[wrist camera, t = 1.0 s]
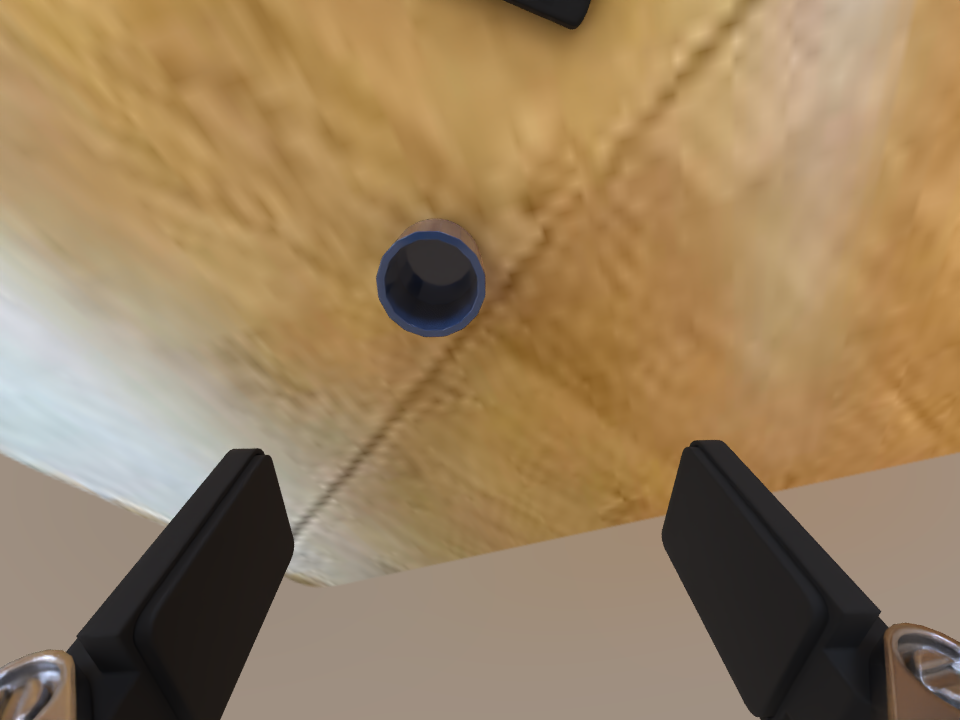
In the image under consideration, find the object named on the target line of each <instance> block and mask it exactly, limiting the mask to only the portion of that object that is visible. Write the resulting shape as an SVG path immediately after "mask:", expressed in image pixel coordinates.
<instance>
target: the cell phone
mask: <svg viewBox="0 0 960 720" xmlns="http://www.w3.org/2000/svg"><path fill="white" fill-rule="evenodd" d="M504 1H506V2H508V3H511V4H513V5H515V6H518V7H520V8H522V9H525V10H527V11H529V12H532V13H534V14H536V15H539V16H541V17H543V18H546V19H548V20H550V21H553V22H555V23H557V24H559V25H562V26H564V27H566V28H568V29H576V28H577V27H578V26H579V25H580V24H581V22H582V21H583V19H584V17H585V15H586V13H587V10H588V7H589V4H590V1H591V0H504Z"/></svg>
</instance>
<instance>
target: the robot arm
mask: <svg viewBox="0 0 960 720" xmlns="http://www.w3.org/2000/svg"><path fill="white" fill-rule="evenodd" d="M662 541H663V545H664V548H665V550H666V552H667V554H668V556H669V558H670V560H671V562H672V563H673V565H674V567H675V569H676V571H677V573H678V575H679V577H680V579H681V581H682V582H683V585H684V587H685V589H686V591H687V593H688V594H689V596H690V598H691V600H692V602H693V604H694V606H695V608H696V610H697V612H698V613H699V616H700V617H701V620H702V621H703V624H704V625H705V627H706V629H707V631H708V633H709V635H710V637H711V639H712V641H713V643H714V645H715V647H716V649H717V651H718V652H719V655H720V656H721V658H722V660H723V662H724V664H725V666H726V668H727V670H728V672H729V674H730V676H731V678H732V680H733V681H734V684H735V685H736V687H737V689H738V691H739V693H740V695H741V697H742V699H743V701H744V703H745V704H746V706H747V708H748V710H749V711H750V712H751V713H752V714H753V715H754V716H756V717H760V719H761V720H960V642H958V641H956V640H954V639H953V638H951V637H949V636H947V635H945V634H943V633H941V632H938V631H935V630H933V629H930V628H927V627H925V626H922V625H916V624H910V623H901V624H893V625H892V626H891V627H888V626H887V625H886V624H885V623H884V622H883V621H882V620H881V619H880V618H879V617H878V616H879V614H880V613H881V611H880V610H879V609H878V608H877V606H875V604H874V603H873V602H872V601H871V600H870V599H869V598H868V597H867V596H866V595H865V594H864V592H862V590H861V589H860V588H859V587H858V586H857V585H856V584H855V583H854V582H853V581H852V579H851V578H849V576H848V575H847V574H846V573H845V572H844V571H843V570H842V569H841V568H840V567H839V565H838V564H837V563H836V562H835V561H834V560H833V559H832V558H831V557H830V556H829V555H828V554H827V552H826V551H825V550H824V549H823V548H822V547H821V546H820V545H819V544H818V543H817V542H816V541H815V540H814V538H813V537H812V536H811V535H810V534H809V533H808V532H807V531H806V530H805V529H804V528H803V527H802V526H801V525H800V523H799V522H798V521H797V520H796V519H795V518H794V517H793V516H792V515H791V514H790V513H789V511H788V510H787V509H786V508H785V507H784V506H783V505H782V504H781V503H780V502H779V501H778V500H777V499H776V497H775V496H774V495H773V494H772V493H771V492H770V491H769V490H768V489H767V488H766V487H765V486H764V485H763V483H762V482H761V481H760V480H759V479H758V478H757V477H756V476H755V475H754V474H753V473H752V472H751V470H750V469H749V468H748V467H747V466H746V465H745V464H744V463H743V462H742V461H741V460H740V459H739V458H738V456H737V455H736V454H735V453H734V452H733V451H732V450H731V449H730V448H729V447H728V446H727V445H726V444H725V443H724V442H723V441H720V440H696V441H693V442H692V443H691V444H690V446H689V447H686V448H685V449H684V450H683V452H682V456H681V460H680V464H679V468H678V471H677V475H676V479H675V483H674V487H673V491H672V494H671V498H670V502H669V506H668V510H667V514H666V517H665V521H664V525H663V529H662ZM293 551H294V539H293V535H292V531H291V528H290V524H289V520H288V517H287V513H286V509H285V505H284V502H283V498H282V494H281V491H280V487H279V483H278V479H277V476H276V472H275V468H274V464H273V461H272V458H271V457H270V455H265V454H264V452H263V451H262V450H261V449H258V448H257V449H232V450H230V451H229V452H228V453H227V454H226V455H225V456H224V458H223V459H222V460H221V461H220V462H219V464H218V465H217V466H216V467H215V468H214V470H213V471H212V472H211V473H210V475H209V476H208V477H207V478H206V479H205V481H204V482H203V483H202V484H201V485H200V487H199V488H198V489H197V490H196V492H195V493H194V494H193V495H192V496H191V498H190V499H189V500H188V501H187V502H186V504H185V505H184V506H183V507H182V509H181V510H180V511H179V512H178V513H177V515H176V516H175V517H174V518H173V519H172V521H171V522H170V523H169V524H168V525H167V527H166V528H165V529H164V530H163V532H162V533H161V534H160V535H159V536H158V538H157V539H156V540H155V541H154V542H153V544H152V545H151V546H150V547H149V549H148V550H147V551H146V552H145V554H144V555H143V556H142V557H141V558H140V560H139V561H138V562H137V563H136V564H135V566H134V567H133V568H132V569H131V570H130V572H129V573H128V574H127V575H126V576H125V578H124V579H123V580H122V581H121V582H120V584H119V585H118V586H117V587H116V589H115V590H114V591H113V592H112V593H111V595H110V596H109V597H108V598H107V600H106V601H105V602H104V603H103V604H102V606H101V607H100V608H99V609H98V611H97V612H96V613H95V614H94V615H93V616H92V618H91V619H90V620H89V621H88V623H87V624H86V625H85V626H84V627H83V629H82V630H81V631H80V632H79V633H78V635H77V639H76V641H75V642H74V643H73V644H72V645H71V647H70V648H69V649H68V650H67V652H64V651H62V650H44V651H40V652H35V653H31V654H28V655H26V656H24V657H21V658H19V659H16V660H14V661H12V662H9V663H8V664H6V665H4V666H3V667H1V668H0V720H220V719H221V716H222V714H223V712H224V710H225V708H226V705H227V703H228V701H229V699H230V696H231V694H232V692H233V689H234V687H235V685H236V683H237V680H238V678H239V676H240V673H241V671H242V669H243V667H244V664H245V662H246V660H247V658H248V656H249V653H250V651H251V649H252V647H253V644H254V642H255V640H256V637H257V635H258V633H259V630H260V628H261V626H262V624H263V622H264V619H265V617H266V615H267V612H268V610H269V608H270V606H271V603H272V601H273V599H274V597H275V594H276V592H277V590H278V588H279V585H280V583H281V581H282V578H283V576H284V574H285V572H286V570H287V567H288V565H289V563H290V561H291V558H292V555H293Z"/></svg>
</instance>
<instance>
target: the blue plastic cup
mask: <svg viewBox="0 0 960 720" xmlns="http://www.w3.org/2000/svg"><path fill="white" fill-rule="evenodd" d="M376 277H377V278H376V282H377V290H378V298H379V300H380V302H381V304H382V305H383V307H384V309H385V311H386V313H387V314H388V316H389V317H390V318H391V319H392V320H393V321H394V322H396V323H397V324H398V325H399V326H401V327H402V328H403V329H404V330H406V331H409V332H412V333H414V334H417V335H420V336H423V337H444V336H447V335H450V334H452V333H455V332H457V331H459V330H462V329H463V328H465V327H466V326H467V325H468V324H469V323H470V322H471V321H472V320H473V319H474V318H475V317H476V316H477V314H478V313H479V310H480V308H481V306H482V303H483V301H484V298H485V272H484V267H483V261H482V256H481V254H480V251H479V249H478V246H477V244H476V242H475V240H474V239H473V238H472V236H471V235H470V234H469V233H468V232H467V231H466V230H465V229H464V228H462V227H461V226H459V225H458V224H456V223H454V222H451V221H448V220H444V219H426V220H422V221H420V222H417V223H415V224H413V225H411V226H410V227H408V228H407V229H406V230H405V231H404V232H403V233H402V234H401V236H400V237H399V238H398V239H397V240H396V241H395V243H394V244H393V245H392V246H391V247H390V248H389V250H388V251H387V252H386V253H385V254H384V255H383V257H382V259H381V262H380V266H379V269H378V272H377V276H376Z"/></svg>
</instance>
